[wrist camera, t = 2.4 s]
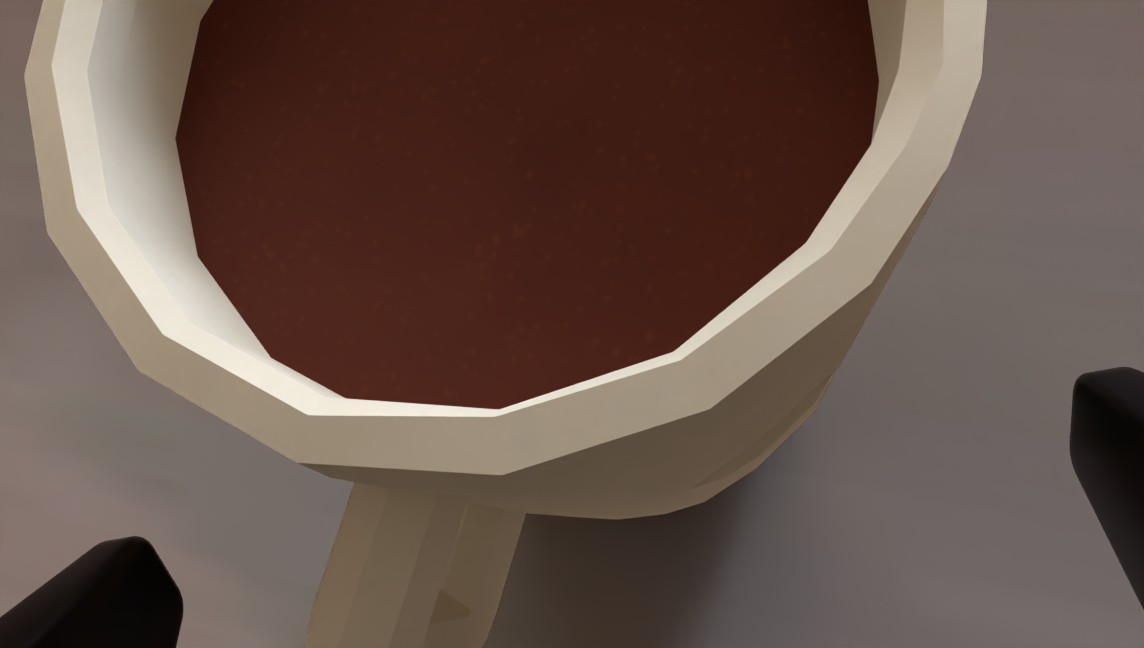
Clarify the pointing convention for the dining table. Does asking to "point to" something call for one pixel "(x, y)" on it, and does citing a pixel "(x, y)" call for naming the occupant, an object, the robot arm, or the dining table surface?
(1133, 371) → the robot arm
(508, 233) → the character mug
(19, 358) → the dining table surface
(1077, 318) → the dining table surface
